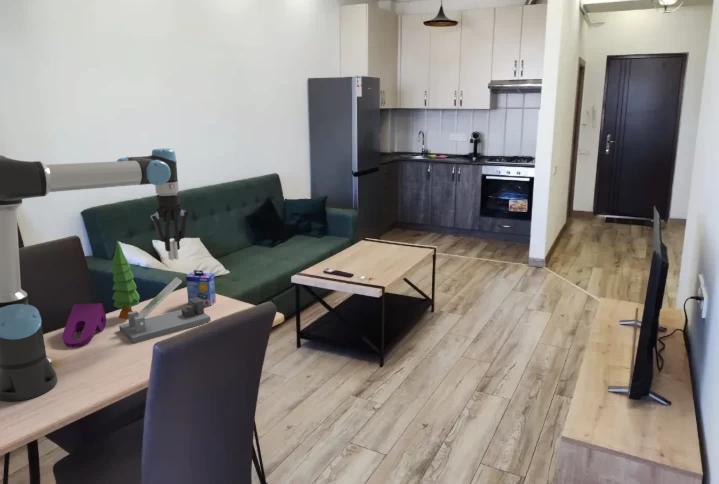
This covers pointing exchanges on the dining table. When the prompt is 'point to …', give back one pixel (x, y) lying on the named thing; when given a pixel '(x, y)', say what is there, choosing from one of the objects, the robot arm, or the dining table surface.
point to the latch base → (164, 322)
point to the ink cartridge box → (201, 287)
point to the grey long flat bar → (158, 298)
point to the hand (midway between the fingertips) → (173, 259)
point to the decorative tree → (123, 284)
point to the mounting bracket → (84, 323)
